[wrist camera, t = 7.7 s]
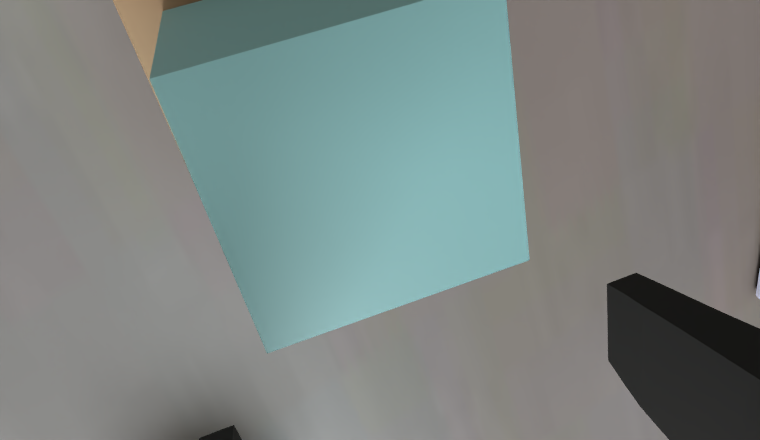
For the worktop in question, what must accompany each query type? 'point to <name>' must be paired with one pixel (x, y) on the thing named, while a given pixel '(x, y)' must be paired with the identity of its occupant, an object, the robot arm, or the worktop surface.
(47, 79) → the worktop surface
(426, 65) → the teal cube
